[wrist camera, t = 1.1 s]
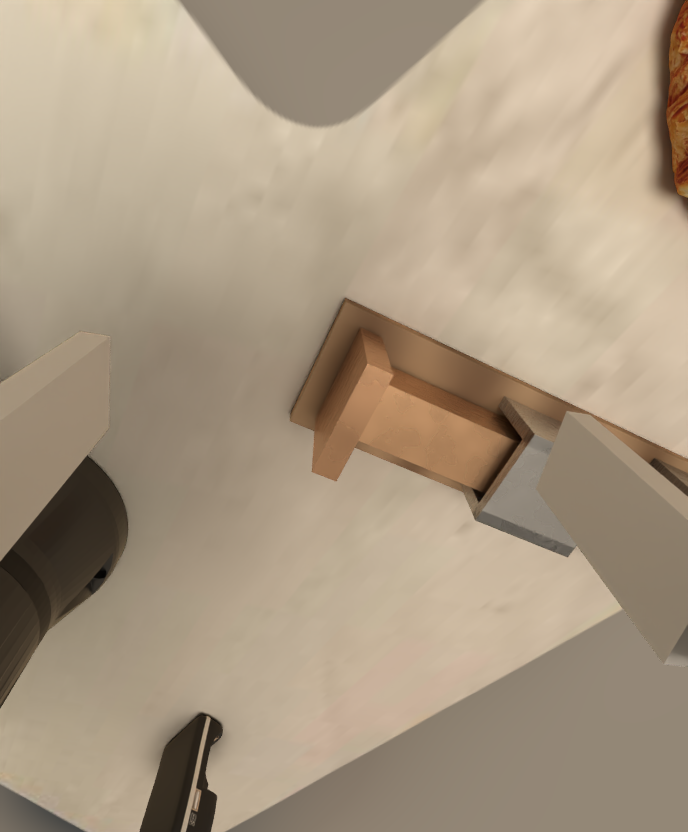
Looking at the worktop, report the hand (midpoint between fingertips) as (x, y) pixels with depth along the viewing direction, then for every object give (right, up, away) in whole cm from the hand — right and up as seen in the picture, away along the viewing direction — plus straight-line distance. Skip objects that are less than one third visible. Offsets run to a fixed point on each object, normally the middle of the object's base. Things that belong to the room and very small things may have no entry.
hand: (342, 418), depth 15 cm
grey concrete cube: (+13, -3, +22) cm, 26 cm away
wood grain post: (+8, -1, +21) cm, 23 cm away
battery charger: (-14, -31, +36) cm, 50 cm away
